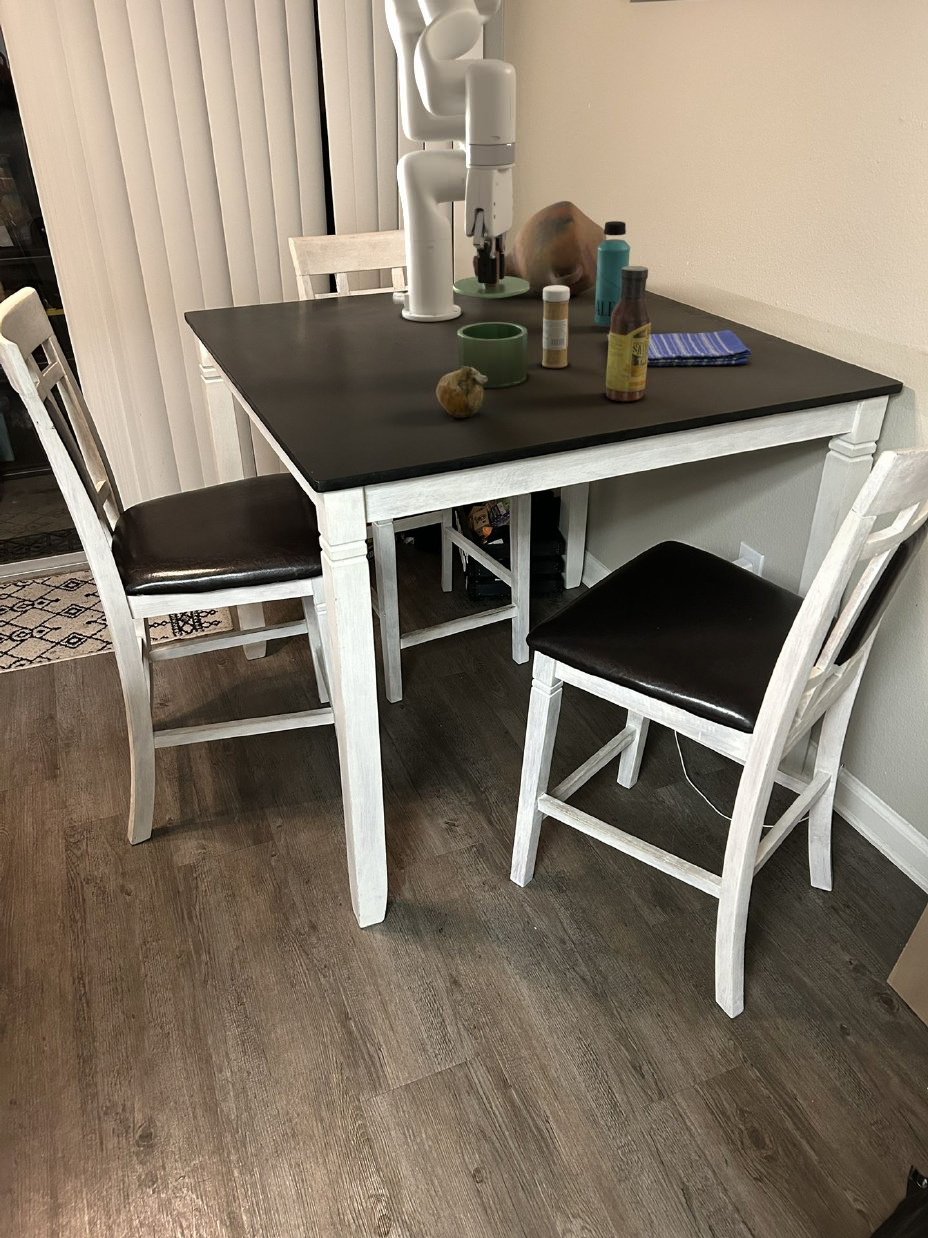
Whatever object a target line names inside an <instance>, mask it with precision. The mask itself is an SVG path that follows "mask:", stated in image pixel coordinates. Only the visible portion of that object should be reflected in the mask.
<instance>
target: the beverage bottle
mask: <svg viewBox="0 0 928 1238" xmlns="http://www.w3.org/2000/svg"><path fill="white" fill-rule="evenodd" d="M626 225H627V224H626V222H624V221H619V220H612V221H610V220H609V221H606V222H605V223H604V228H603V229H604V234H605V235H606V236H623V235H626V234H627V230H626V229H627V228H626ZM630 253H631V246H630V245H629V243H628V242H627V241H626V240H624V239H616V238H612V239H611V238H610V239H606V240H604V241H603V242H602V243H601V244H600V245H599V246H598V260H597V264H596V265H597V267H596V272H597V274H596V276H597V277H596V281H595V290H594V293H595V297H594V305H593V312H594V314H593V320H594V322H595V323H596V324H599V325H603V326H611V316H612V312H613V310H614V308H615V306H616V305H617V304H618V302H619V300H620V298H621V297H620V293H621V283H622V279H621V268H623V267H626V266H630Z"/></svg>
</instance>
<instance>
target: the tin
mask: <svg viewBox="0 0 928 1238" xmlns="http://www.w3.org/2000/svg"><path fill="white" fill-rule="evenodd" d="M457 347H458V348H457V349H458V351H457V352H458V353H457V354H458V370H461V369H462V368H461V366H468V367H473V368H474V369H475V370H477V371H478V372H479V373H480V374H481V375H483V376H486V377H487V378H488V380H487V382H485V383H484V384H483V385H482V384H479V383H478V384H479V386H482V388H483V389H503V388H510V387H514V386H517V385H520V384H522V383H524V382H525V381H526V379H527V375H528V374H527V373H528V330H527V328H526V327H524V326H522V325H520V324H516V323H511V322H502V321H493V322H492V321H491V322H489V321H486V322H485V321H484V322H477V323H471V324H468V325H463V326H462V327H460V328H459V329H458V330H457Z"/></svg>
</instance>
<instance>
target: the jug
mask: <svg viewBox="0 0 928 1238" xmlns="http://www.w3.org/2000/svg"><path fill="white" fill-rule="evenodd" d="M604 229H605V228H603V227H602V226H601V225H599V224H597V223H596V222H595V221H594V220H592V219H591V218H590V217H589V216H587V215H586V214H585V213H584V212H583V211H582V210H581V209H580V208H579V207H578V206H577V205H575V204H574V203H573V202H572V201H569V200H562V201H557V202H555V203H552V204H550V205H548V206H545V207H544V208H542V209H540V210H539V211H538V212H536V213H534V214H533V215H532V216H531V217H529V218H528V219H527V221H525V223H524V224H523V225H521V228H520V229H519V231H518V233H517V234H516V237H515V240H514V244H513V247H512V249H511V251H510V252H508V253H507V254H506V255H505V276H509V277H516V278H520V279H524V280H526V281H528V282H529V284H530V288H529V290H531V291H533V292H534V293H536V294H539V295H542V296H543V289H544V288H545V287H547V286H554V285H561V286H566V287H569V289H570V296H574V295H578V294H581V293H583V292H586V291H587V290H589V289H591V288H592V287H593V286H594V285H596V277H597V276H596V274H597V272H596V267H597V265H596V264H597V260H598V246H599V245H600V244H601V243H602V242H603V241H604V240H607V235H605V234H604ZM472 267H473V268H472V269H473V274H474V277H478V258H477V255H474V256H473V257H472Z"/></svg>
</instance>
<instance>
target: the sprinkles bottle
mask: <svg viewBox="0 0 928 1238" xmlns="http://www.w3.org/2000/svg"><path fill="white" fill-rule="evenodd" d="M570 296H571V295H570V289H569V287H566V286H561V285H554V286H547V287H545V288H544V289H543V295H542V300H543V317H542V362H541V365H542V366H543V367H545V368H547V369H555V370H557V369H562V368H565V367H567V366H568V346H569V345H568V344H569V302H570Z"/></svg>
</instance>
